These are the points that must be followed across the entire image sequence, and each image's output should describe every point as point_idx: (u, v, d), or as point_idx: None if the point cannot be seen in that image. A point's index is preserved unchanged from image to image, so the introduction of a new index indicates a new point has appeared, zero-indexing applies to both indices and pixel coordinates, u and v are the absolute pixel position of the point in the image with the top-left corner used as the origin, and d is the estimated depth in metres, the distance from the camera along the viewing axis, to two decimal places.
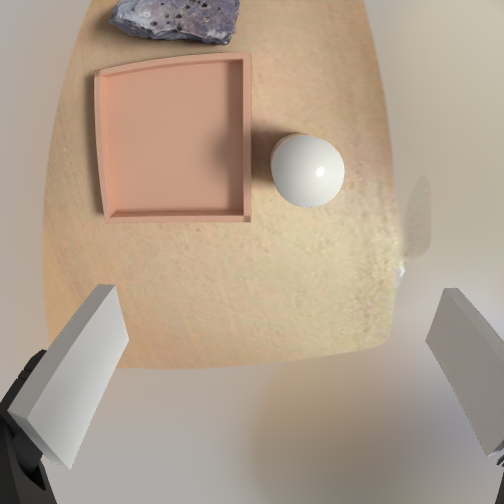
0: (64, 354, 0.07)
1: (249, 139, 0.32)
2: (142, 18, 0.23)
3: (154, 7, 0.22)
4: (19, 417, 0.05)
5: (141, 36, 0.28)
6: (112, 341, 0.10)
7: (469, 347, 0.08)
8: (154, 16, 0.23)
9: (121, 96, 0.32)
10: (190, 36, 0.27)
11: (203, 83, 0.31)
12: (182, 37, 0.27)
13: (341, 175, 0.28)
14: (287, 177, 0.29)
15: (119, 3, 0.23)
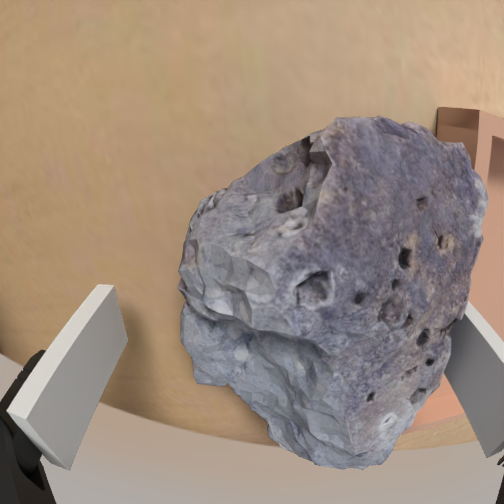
0: (63, 354, 0.07)
1: None
2: (394, 426, 0.09)
3: (375, 411, 0.08)
4: (18, 417, 0.05)
5: None
6: (111, 341, 0.10)
7: (469, 348, 0.08)
8: (399, 401, 0.09)
9: None
10: None
11: (483, 233, 0.12)
12: None
13: None
14: None
15: (290, 448, 0.12)
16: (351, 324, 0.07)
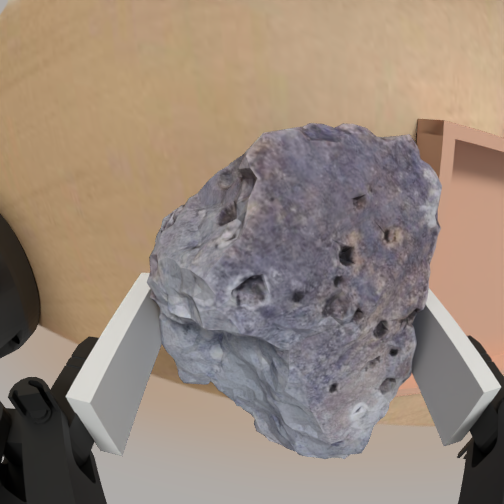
0: (120, 338, 0.08)
1: None
2: (367, 416, 0.10)
3: (341, 401, 0.09)
4: (79, 402, 0.06)
5: None
6: (156, 328, 0.11)
7: (426, 334, 0.09)
8: (367, 391, 0.10)
9: None
10: None
11: (458, 218, 0.16)
12: None
13: None
14: None
15: (277, 440, 0.13)
16: (295, 320, 0.08)
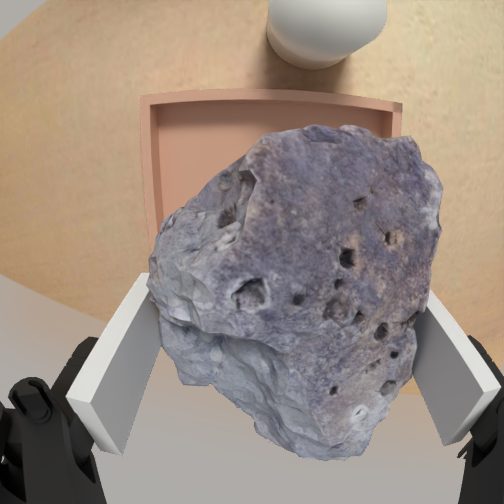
0: (120, 338, 0.08)
1: (277, 90, 0.19)
2: (368, 418, 0.10)
3: (342, 404, 0.09)
4: (80, 402, 0.06)
5: None
6: (156, 328, 0.11)
7: (426, 334, 0.09)
8: (367, 393, 0.10)
9: None
10: None
11: (188, 160, 0.24)
12: None
13: None
14: (341, 29, 0.13)
15: (277, 442, 0.13)
16: (295, 323, 0.08)
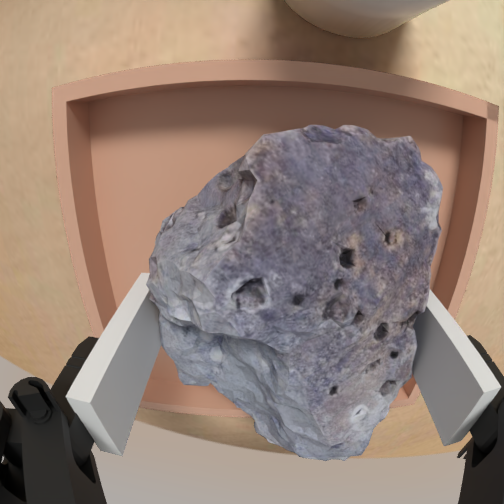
0: (120, 338, 0.08)
1: (297, 64, 0.09)
2: (368, 418, 0.10)
3: (342, 404, 0.09)
4: (80, 402, 0.06)
5: None
6: (156, 328, 0.11)
7: (426, 334, 0.09)
8: (367, 393, 0.10)
9: (172, 360, 0.18)
10: None
11: (139, 193, 0.14)
12: None
13: None
14: None
15: (277, 442, 0.13)
16: (295, 323, 0.08)
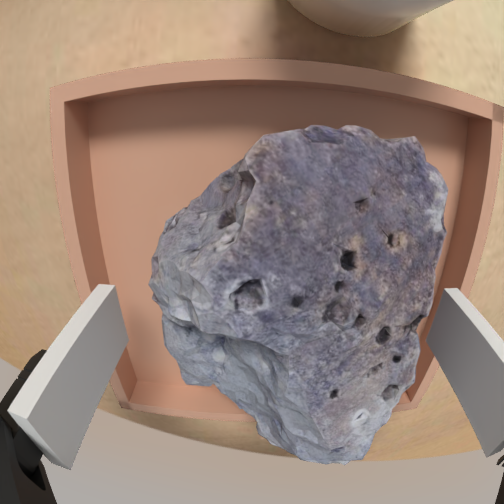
0: (64, 354, 0.07)
1: (300, 63, 0.09)
2: (369, 422, 0.09)
3: (342, 408, 0.09)
4: (19, 417, 0.05)
5: None
6: (112, 341, 0.10)
7: (469, 347, 0.08)
8: (369, 397, 0.09)
9: (173, 364, 0.17)
10: None
11: (139, 195, 0.13)
12: None
13: None
14: None
15: (279, 444, 0.13)
16: (294, 325, 0.08)
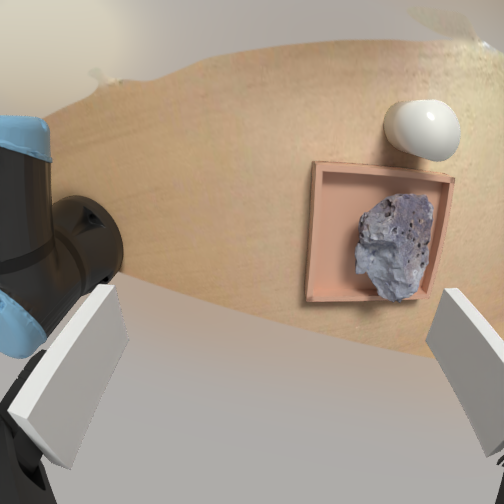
0: (64, 354, 0.07)
1: (394, 171, 0.34)
2: (417, 275, 0.34)
3: (410, 267, 0.34)
4: (19, 417, 0.05)
5: None
6: (112, 341, 0.10)
7: (469, 347, 0.08)
8: (416, 265, 0.34)
9: (332, 276, 0.42)
10: None
11: (336, 205, 0.38)
12: None
13: (438, 102, 0.26)
14: (439, 149, 0.28)
15: (386, 297, 0.38)
16: (401, 239, 0.33)
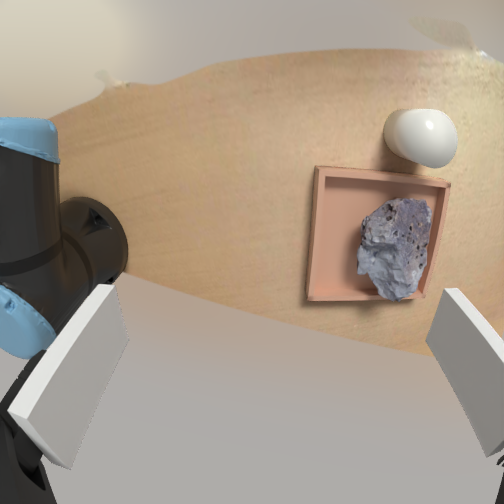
0: (64, 354, 0.07)
1: (393, 176, 0.36)
2: (416, 276, 0.36)
3: (410, 268, 0.36)
4: (19, 417, 0.05)
5: None
6: (112, 341, 0.10)
7: (469, 347, 0.08)
8: (415, 266, 0.36)
9: (332, 276, 0.44)
10: None
11: (337, 208, 0.40)
12: None
13: (437, 112, 0.27)
14: (437, 157, 0.30)
15: (386, 296, 0.39)
16: (402, 241, 0.34)
